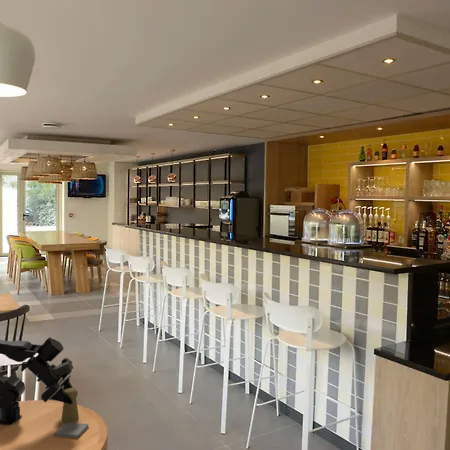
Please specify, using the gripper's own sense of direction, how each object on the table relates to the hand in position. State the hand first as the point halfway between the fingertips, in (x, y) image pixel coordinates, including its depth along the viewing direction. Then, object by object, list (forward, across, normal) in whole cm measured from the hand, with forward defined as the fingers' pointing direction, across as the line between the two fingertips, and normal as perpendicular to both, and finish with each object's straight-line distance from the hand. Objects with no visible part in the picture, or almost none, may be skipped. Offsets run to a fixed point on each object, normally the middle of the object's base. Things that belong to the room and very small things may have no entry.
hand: (74, 399), depth 165 cm
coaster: (+6, -9, +4) cm, 11 cm away
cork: (+4, 0, +6) cm, 7 cm away
